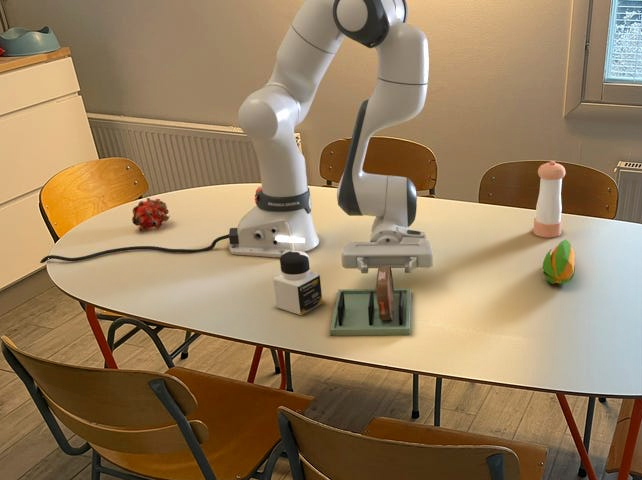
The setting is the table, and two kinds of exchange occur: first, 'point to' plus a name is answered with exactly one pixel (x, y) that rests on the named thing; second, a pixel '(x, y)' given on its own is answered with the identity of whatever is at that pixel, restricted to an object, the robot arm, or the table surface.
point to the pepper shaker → (549, 201)
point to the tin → (385, 293)
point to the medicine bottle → (297, 284)
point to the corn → (559, 263)
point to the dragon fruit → (150, 214)
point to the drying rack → (369, 314)
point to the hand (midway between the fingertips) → (386, 270)
